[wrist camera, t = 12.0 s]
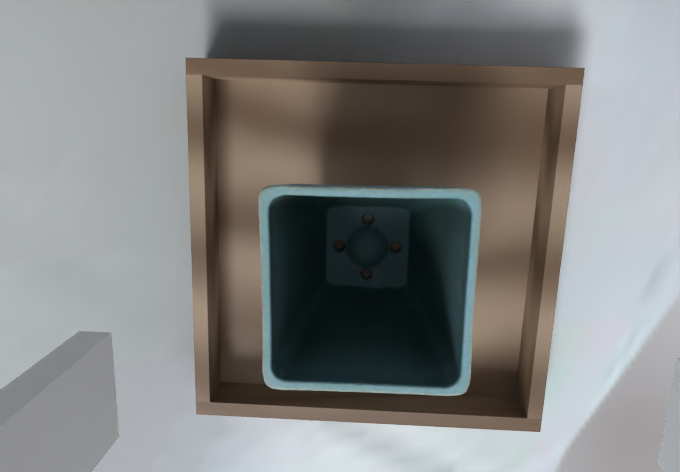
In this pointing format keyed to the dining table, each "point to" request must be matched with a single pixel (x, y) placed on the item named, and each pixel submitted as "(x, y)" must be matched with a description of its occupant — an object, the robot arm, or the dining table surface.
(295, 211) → the flower pot
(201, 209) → the box
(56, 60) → the dining table surface
